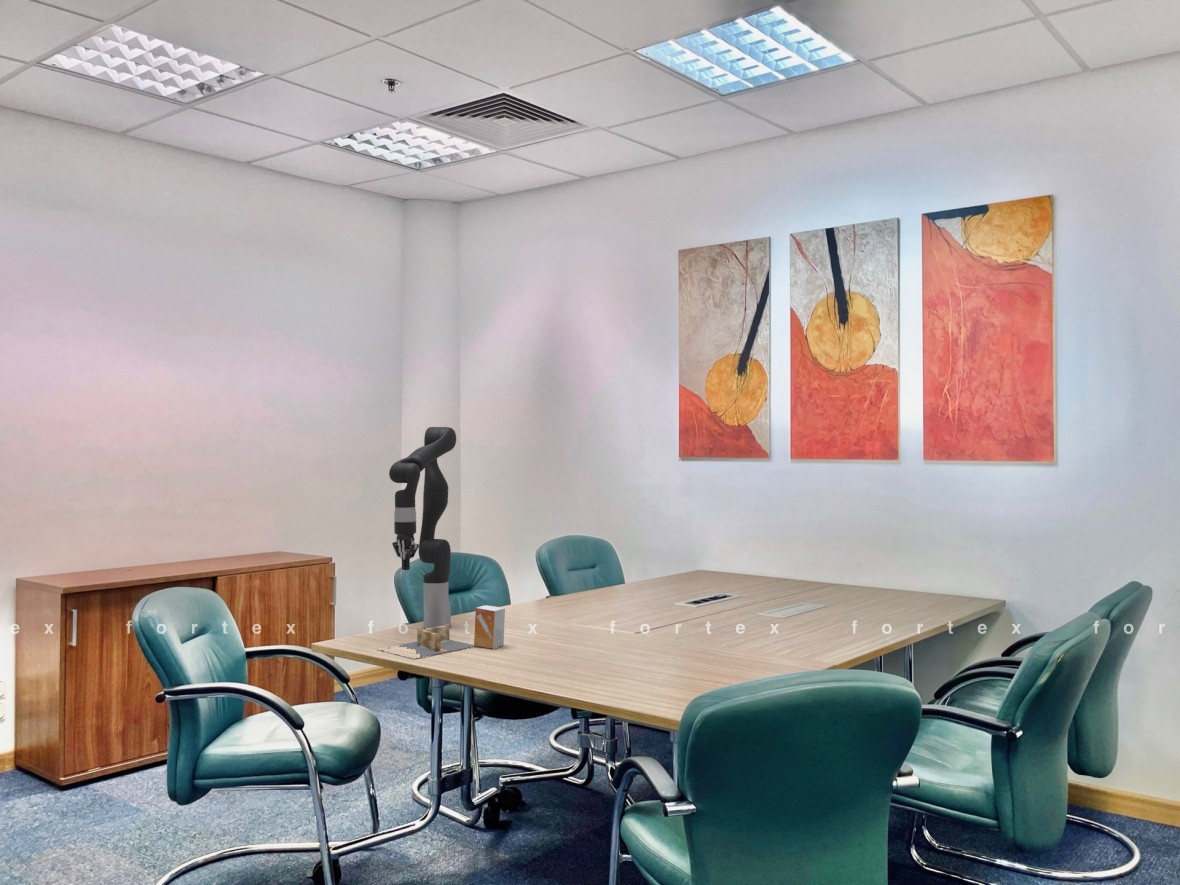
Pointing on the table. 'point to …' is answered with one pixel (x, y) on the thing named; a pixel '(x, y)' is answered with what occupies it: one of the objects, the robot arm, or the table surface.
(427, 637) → the fence gate
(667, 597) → the table surface
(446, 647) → the card
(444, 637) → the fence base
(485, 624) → the small box
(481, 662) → the table surface
